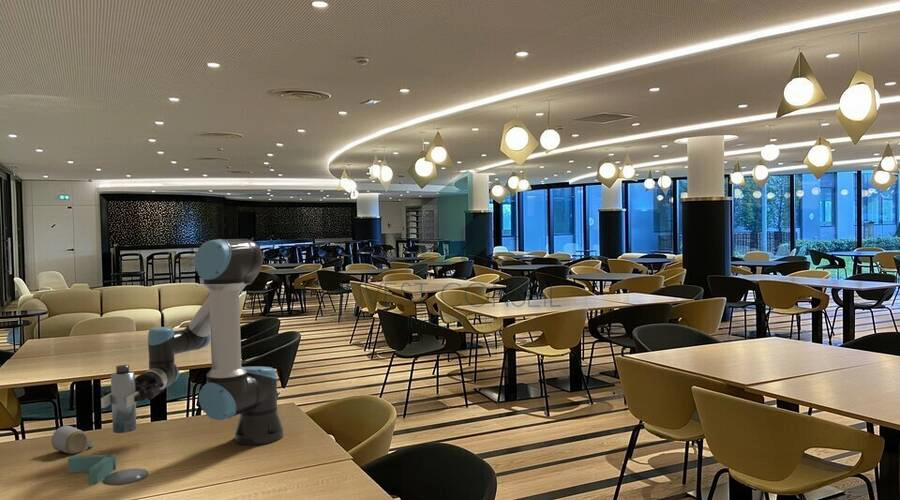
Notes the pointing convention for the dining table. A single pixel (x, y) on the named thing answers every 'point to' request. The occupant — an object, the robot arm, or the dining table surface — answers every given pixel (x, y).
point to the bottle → (123, 400)
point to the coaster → (126, 476)
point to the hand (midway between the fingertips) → (115, 402)
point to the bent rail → (93, 466)
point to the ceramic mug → (70, 440)
